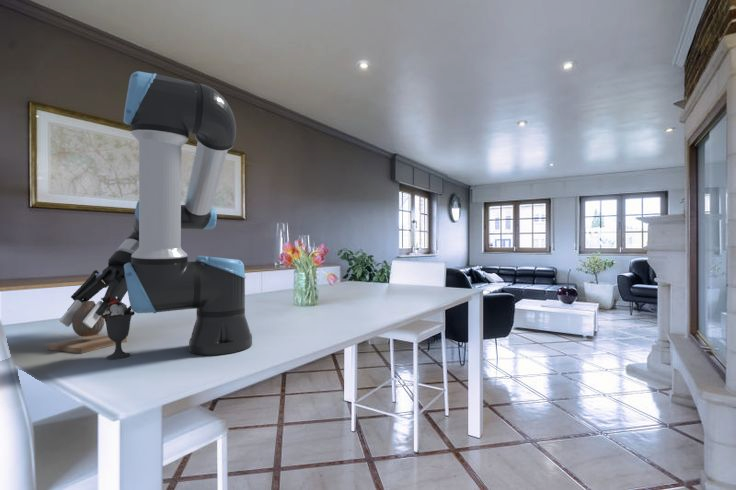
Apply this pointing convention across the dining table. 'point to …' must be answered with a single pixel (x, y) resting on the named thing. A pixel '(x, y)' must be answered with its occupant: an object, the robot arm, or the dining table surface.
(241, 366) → the dining table surface
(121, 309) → the sundae
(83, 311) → the vase
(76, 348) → the walnut board
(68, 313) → the robot arm
